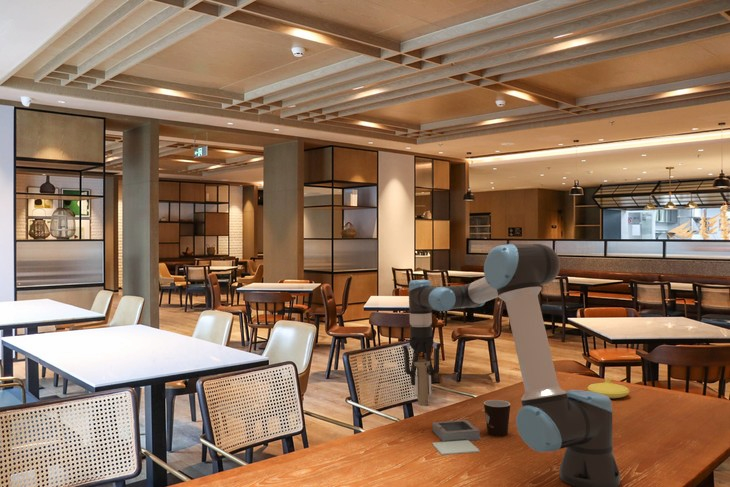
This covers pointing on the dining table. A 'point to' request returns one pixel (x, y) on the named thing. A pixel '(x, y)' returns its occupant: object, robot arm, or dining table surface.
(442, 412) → the dining table surface
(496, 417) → the coffee mug
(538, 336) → the robot arm
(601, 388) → the yellow pattypan squash
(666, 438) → the dining table surface
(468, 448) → the mat
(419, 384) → the handle
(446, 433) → the silver square frame
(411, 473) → the dining table surface
